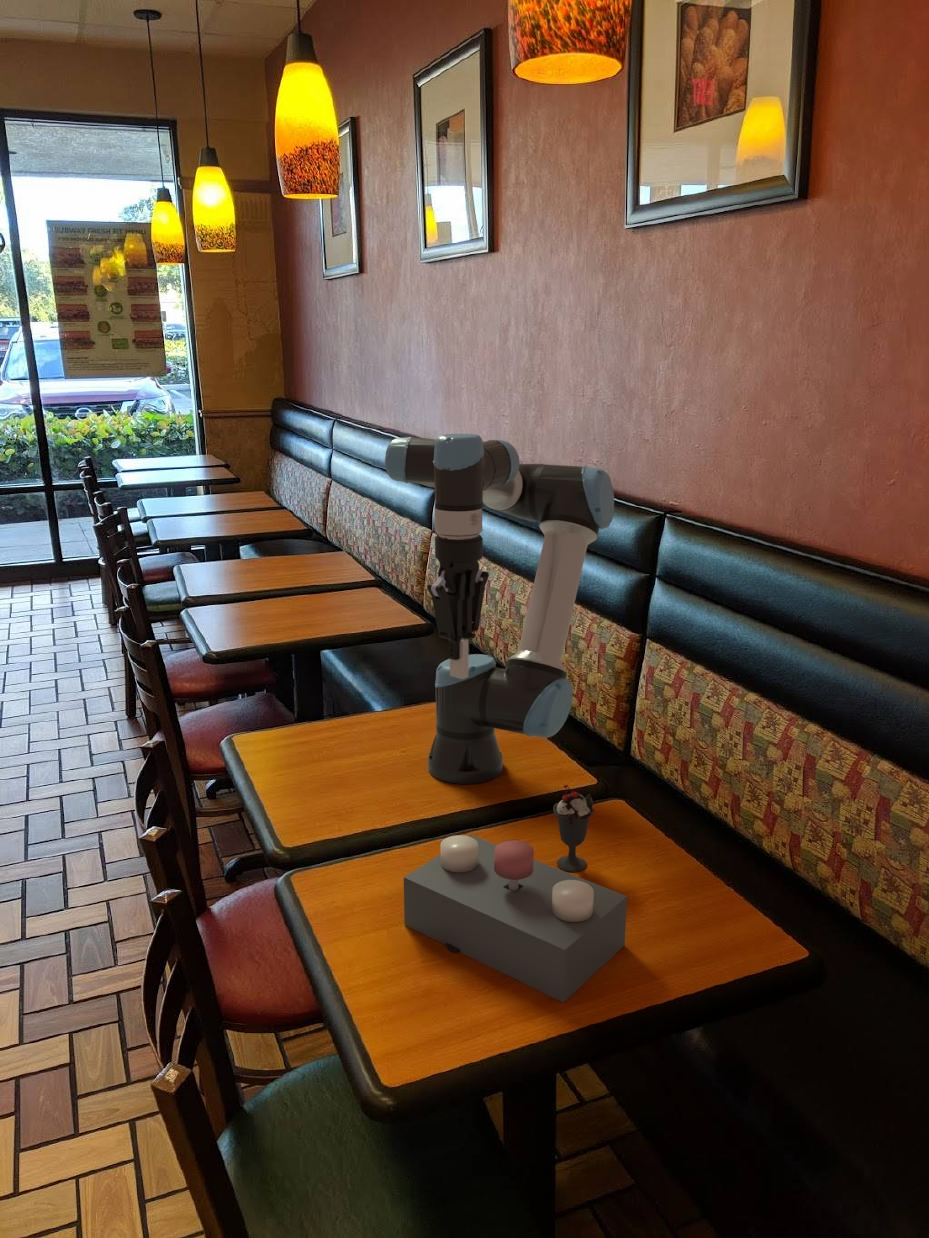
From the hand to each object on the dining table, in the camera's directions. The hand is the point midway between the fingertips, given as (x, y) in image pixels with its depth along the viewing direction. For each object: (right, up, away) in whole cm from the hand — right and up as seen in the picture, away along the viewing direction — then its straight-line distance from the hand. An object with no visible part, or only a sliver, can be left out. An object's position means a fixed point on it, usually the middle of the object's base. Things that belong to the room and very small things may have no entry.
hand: (459, 676), depth 159 cm
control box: (+8, -37, -17) cm, 41 cm away
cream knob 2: (+16, -35, -24) cm, 46 cm away
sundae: (+19, -31, +2) cm, 37 cm away
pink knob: (+8, -31, -19) cm, 37 cm away
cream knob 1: (0, -32, -12) cm, 34 cm away
